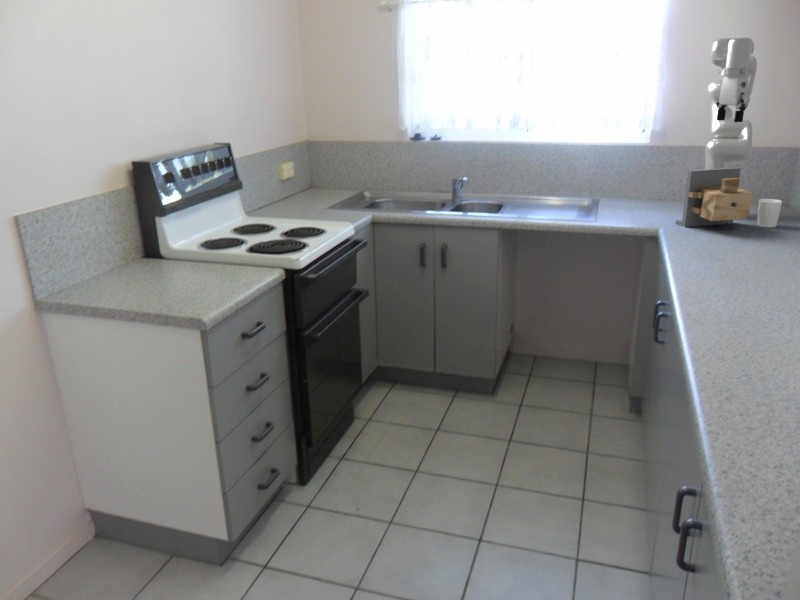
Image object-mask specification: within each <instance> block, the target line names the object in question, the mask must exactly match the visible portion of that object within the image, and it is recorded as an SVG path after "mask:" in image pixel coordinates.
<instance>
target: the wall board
mask: <svg viewBox="0 0 800 600" xmlns="http://www.w3.org/2000/svg"><path fill="white" fill-rule="evenodd" d="M740 175H741V167H726V168H721V169H705V168H704V169H692V170H691V169H690V170H688V171H687V178H686V184H685V185H686V188H685V195H684V202H683V203H684V205H683V210H682V211H683V212H682V219H677V220H675V225H677V224H678V226H680V225H681V226H680V227H683V226H684V228H689V226H691V227H700V226H701V225H704V226H713V224H716V225H726V224H725V223H728V224H733V223H734V219H733V220H720V221H710V220H708V219H705V218H703V217H700V213H701V208H702V202H703V196H704V192H699V189H700V188H712V187H721V184H722V179H726V178H738V179H740ZM701 227H702V226H701Z"/></svg>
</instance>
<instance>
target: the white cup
mask: <svg viewBox="0 0 800 600" xmlns="http://www.w3.org/2000/svg"><path fill="white" fill-rule="evenodd" d="M782 203H783V201H782V200H780V199H775V198H762V199H761V198H760V199H759V200H758V209H757V219H756V220H757V221H756V226H757V227H762V228H776V227H777V225H778V220H779V217H780V214H781V208H782V205H783V204H782Z"/></svg>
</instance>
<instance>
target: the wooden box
mask: <svg viewBox="0 0 800 600" xmlns="http://www.w3.org/2000/svg"><path fill="white" fill-rule="evenodd" d="M740 179H741V178H739V179H738V178H726V179H722V184H721V187H712V188H700V189H699V192H704V196H703V202H702V208H701V213H700V217H703V218H705V219H708V220H710V221H720V220H733V221H734V220H743V219H744V220H745V219H749V215H750V212H751V207H752V206H751V205H752V201H753V197H754V192H753V191H749V190H746V189H743V188H739V185H740Z"/></svg>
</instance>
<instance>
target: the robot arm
mask: <svg viewBox="0 0 800 600" xmlns="http://www.w3.org/2000/svg"><path fill="white" fill-rule="evenodd" d="M754 50H755V42H754V41H753V39H752V38H750V37H730V38H728V37H727V38H718V39H716V40H715V41H714V42H713V44H712V46H711V50H710V61H711V63H712V65H714V66H716V71H717V74H718V75H719V76H721V77H723V79H721V80H715V81H712V82H710V83H709V84H708V85H707V86H706V89H705V103H706V108H707V110H708V112H709V116H710V121H709V136H710V139H711V140H708V142H706V144H705V147H704V158H705V160H704V161H705V163H704V170H705V169H721V168H727V167H726V166H725V163H728V164H729V163H731V164H732V163H733V164H734V163H735V164H739V163H740V164H741V163H742V164H743V163H747V162H748V161H750V160H751V157H752V153H753V125H752V122H751V121H750V120H749V119H745V118H744V114H745V111H746V109H747V107H749V103H750V101H751V98H750V97H751V96H752V92H753V88H754V84H755V83H754V82H755V79H756V74H757V70H758V69H757V67H758V60H757V58H756V56H754V55H753V53H754ZM729 106H735V109H736V110H735V113H734V114H733V110H732V109H731V108H730V107H729ZM733 115H734V118H733Z"/></svg>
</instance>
